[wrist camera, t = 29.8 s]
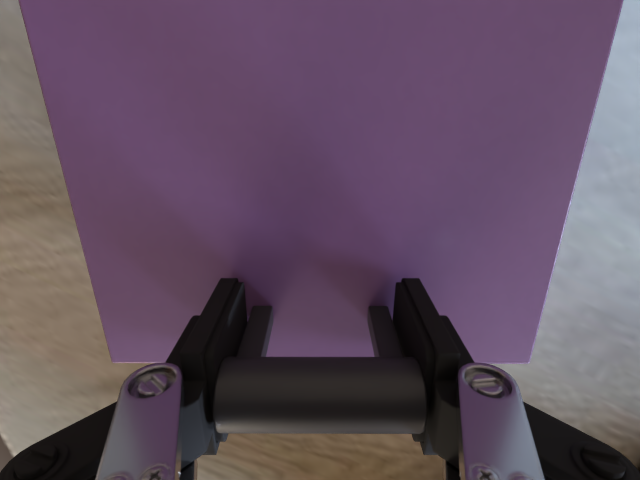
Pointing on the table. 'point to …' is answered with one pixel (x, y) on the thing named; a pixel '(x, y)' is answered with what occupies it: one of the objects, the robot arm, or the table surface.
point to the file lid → (320, 181)
